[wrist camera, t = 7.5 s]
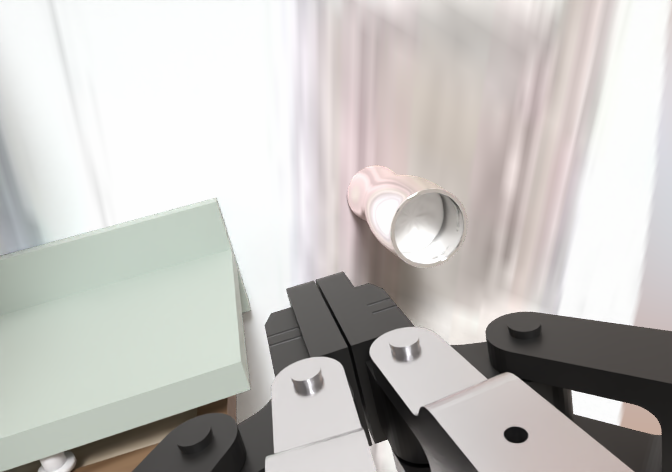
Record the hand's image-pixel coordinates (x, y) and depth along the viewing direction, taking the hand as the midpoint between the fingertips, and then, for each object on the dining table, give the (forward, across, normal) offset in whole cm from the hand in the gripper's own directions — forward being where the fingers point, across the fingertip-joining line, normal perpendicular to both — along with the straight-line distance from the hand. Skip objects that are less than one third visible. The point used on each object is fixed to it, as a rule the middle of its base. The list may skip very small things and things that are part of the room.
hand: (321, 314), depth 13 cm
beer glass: (+39, -12, +8) cm, 42 cm away
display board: (+39, +16, +10) cm, 43 cm away
